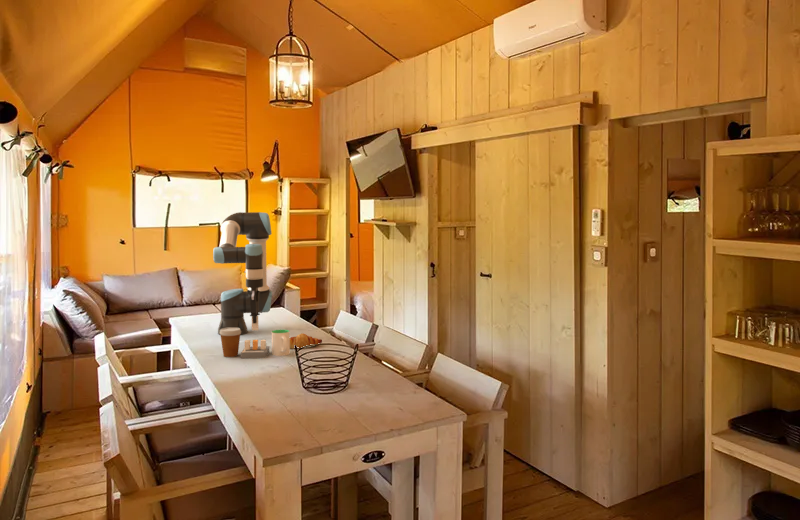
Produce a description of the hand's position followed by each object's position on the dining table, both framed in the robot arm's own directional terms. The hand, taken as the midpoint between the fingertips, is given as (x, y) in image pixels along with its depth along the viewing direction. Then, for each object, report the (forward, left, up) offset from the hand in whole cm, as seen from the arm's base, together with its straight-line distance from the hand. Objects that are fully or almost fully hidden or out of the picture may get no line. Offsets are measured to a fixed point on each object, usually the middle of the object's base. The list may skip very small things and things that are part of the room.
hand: (255, 329), depth 268 cm
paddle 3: (0, +4, -9) cm, 10 cm away
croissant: (-15, +19, -12) cm, 27 cm away
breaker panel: (0, 0, -12) cm, 12 cm away
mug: (0, +12, -12) cm, 17 cm away
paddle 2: (0, 0, -9) cm, 9 cm away
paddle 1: (0, -3, -9) cm, 10 cm away
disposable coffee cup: (0, -11, -12) cm, 16 cm away
